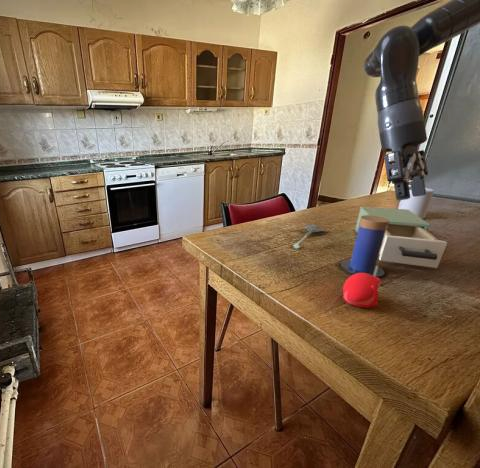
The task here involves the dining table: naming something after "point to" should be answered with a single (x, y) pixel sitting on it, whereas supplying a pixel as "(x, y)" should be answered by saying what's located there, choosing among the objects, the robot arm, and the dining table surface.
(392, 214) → the cabinet
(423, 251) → the drawer
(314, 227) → the grey spatula
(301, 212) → the dining table surface
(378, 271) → the coaster
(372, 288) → the cap
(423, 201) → the mug
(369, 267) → the spice jar
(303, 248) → the dining table surface
